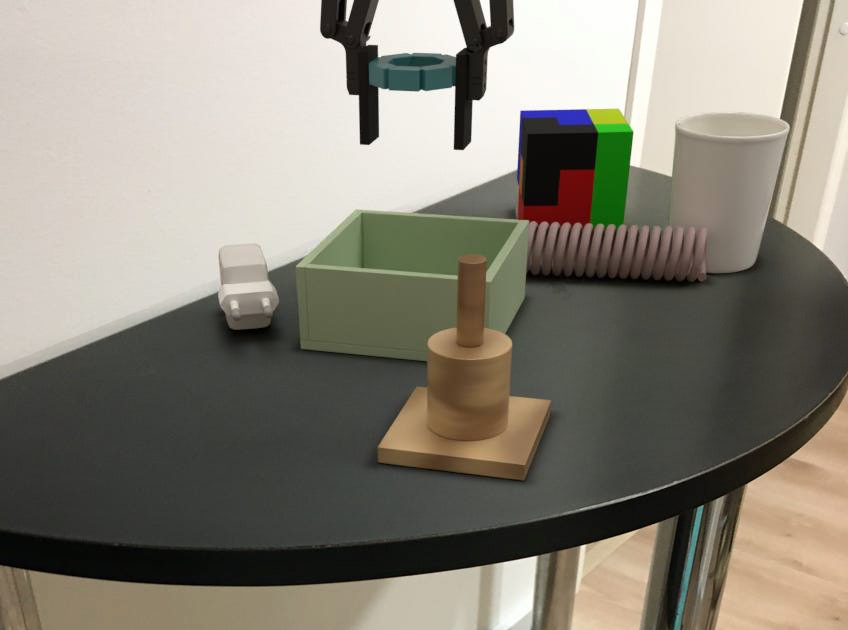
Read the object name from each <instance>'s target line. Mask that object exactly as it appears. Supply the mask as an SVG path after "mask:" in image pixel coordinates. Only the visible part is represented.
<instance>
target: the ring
mask: <svg viewBox="0 0 848 630" xmlns="http://www.w3.org/2000/svg"><path fill="white" fill-rule="evenodd" d="M368 66H369V84H370V85H373V86H376V87H378V89H381V90H388V91H395V92H417V93H418V92H420V91H424V92H429V91H430V92H431V91H437V90H445V89H451V88H453V87H455V74H456V56H455V55H450V54H447V53H445V54H442V53H439V52H438V53H436V52H435V53H434V52H412V53H408V52H402V53H395V54H386V55H381V56H378V57H377V58H375V59H374V60H372V61H370V62H369V63H368Z"/></svg>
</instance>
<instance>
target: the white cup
mask: <svg viewBox="0 0 848 630" xmlns="http://www.w3.org/2000/svg"><path fill="white" fill-rule="evenodd" d="M790 130H791V127H790V124H789V123H788V122H787V121H786V120H784V119H781V118H778V117H775V116H771V115H767V114H762V113H755V112H754V113H753V112H743V111H709V112H708V111H707V112H699V113H693V114H688V115H685V116H681V117H680V118H678V119H677V120H676V121H675V124H674V144H673V157H672V170H671V183H670V196H669V210H668V220H667V221H668V222H667V226H671V227H672V229H673V241H674V235H675V231H676V229H677V227H679V226H680V227H683V228H684V230H685V232H684V245H685V239H686V234H687V230H688V228H690V227H694V228H695V229H696V239H695V249H696V244H697V238H698V233H699V230H700V228H702V227H705V228H707V230H708V233H707V244H706V263H705V268H706V274H731V273H737V272H742V271H745V270H748V269H750V268H752V267H753V266H754V265H755V263H756V261H757V259H758V255H759V252H760V248H761V245H762V240H763V237H764V232H765V229H766V228H765V227H766V223H767V219H768V215H769V211H770V208H771V204H772V199H773V196H774V191H775V187H776V183H777V179H778V174H779V171H780V167H781V163H782V158H783V155H784V150H785V146H786V143H787V138H788V135H789V133H790ZM672 246H673V242H672ZM683 250H684V248H683Z"/></svg>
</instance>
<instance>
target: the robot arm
mask: <svg viewBox="0 0 848 630" xmlns="http://www.w3.org/2000/svg"><path fill="white" fill-rule="evenodd" d="M320 1H321V2H320V19H319V32H320V34H321V37H323V38H324V39H329V40H330V39H331V40H333V41H335V42H338V43H339V44H341V45H342V47H343V48H344V51H345V73H346V75H345V79H346V90H347V93H348V95H349V96H358V113H359V114H358V123H359V145H360V146H370V145H371V144H372V143H373V142H375V141H376V140H378V139H379V137H380V102H379V101H380V98H379V96H380V94H379V93H380V92H379V91H380V90H379V87H376V86H373V85H370V84H369V66H368V63H369V62H370V61H372V60H374V59H375V58H377V57H379V44H367V42H369V40H370V39H371V36H370V32H371V29H372V26H373V22H374V19H375V15H376V12H377V8H378V5H379V2H380V0H353V1H352V5H351V9H350V11H349V15H348V20H347V7H348V0H320ZM488 1H489V21H490V25H488V26H487V22H486V19H485V14H484V11H483V8H482V4H481V0H453V5H454V8H455V11H456V15H457V18H458V21H459V25H460V28H461V32H462V35H463V40H464V42H465V47H463V48H462V49H460V51H458V52H457V53H456V54H455V57H456V74H455V86H454V116H453V117H454V118H453V150H454V151H464V150H465V149H466V148H467V147H468V146H469V145H470V144H471V143H472V131H473V128H472V127H473V103H474V102H473V101H481V100H482V99H483V97H485V93H486V91H487V83H488V82H487V80H488V59H489V58H488V56H489V51H490V49H491V48H492V47H495V46H498V45H501V44H504V43H505V42H507V40H509V39H510V38H511V37H512V36H513V34H514V33H515V16H514V15H515V12H514V11H515V10H514V0H488Z"/></svg>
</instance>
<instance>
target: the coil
mask: <svg viewBox="0 0 848 630" xmlns="http://www.w3.org/2000/svg"><path fill="white" fill-rule="evenodd" d="M662 230H663V231H662ZM662 232H663V233H662ZM684 232H685V230H684V228H683V227H680V226H679V227H677V229H676V231H675V235H674V241H673V229H672V227H671V226H668V225H667V226H665V228H664V229H662V227H661V226H660V225H655V226H653V228H652V230H651V227H650V226H649V225H647V224H645V225H642V226H641V228H640V229H639V226H638V225H637V224H632V225H630V227H629V229H628V226H627V225H626V224H622V225H620V226H619V228H618V230H617V233H616V227H615V225H614V224H610V225H608V227H607V229H606V232H605V227H604V225H603V224H598V225H597V226H596V227H595V230H594V227H593V225H592V224H591V223H588V224H586V225H585V227H584V229H583V227H582V225H581V224H580V223H576V224H574V226H573V228H572V227H571V224H570V223H567V222H566V223H564V224H563V225H562V227H560V224H559V223H558V222H554V223H552V225H551V226H550V227H549V224H548V223H547V222H542V223H541V224H540V225H539V226H538V224H537V223H536V222H535V221H532V222H530V223H529V233H528V250H527V266H526V275H527V273H529V270H530V272H531V274H532V275H533V276H536V275H538V274H539V273H540V269H541V273H542V274H543V276H549V275H550V273H551V269H552V274H553V276H556V277H558V276H560V275H561V274H562V270H563V275H564V276H565V277H571V276H572V274H573V271H574V275H575V277H578V278H580V277H582V276H583V275H584V273H585V276H587V278H593V277H594V275H595V273H596V276H597V277H598V278H599V279H602V278H604V277H605V276H606V275H607V277H608V278H610V279H614V278H616V277H617V276H618V277H619V278H621V279H623V280H624V279H627V277H628V276H629V277H630V278H631V279H632V280H637V279H639V277H640V276H641V278H642V280H645V281H646V280H649V279H650V278H651V277H652V279H653V280H654V281H660V280H661V279H662V278H663V279H664V280H665V281H667V282H669V281H672V280H673V279H675V280H676V281H677V282H683V280H685V279H686V280H687V281H688V282H690V283H692V282H694V281H696V279H697V280H698V281H699V282H705V281H706V280H707V278H708V277H707V273H706V268H705V263H706V244H707V233H708V230H707V228H705V227H702V228H700V230H699V233H698V238H697V244H696V249H695V239H696V229H695V228H694V227H690V228H688V230H687V234H686V239H685V245H684ZM672 242H673V246H672ZM683 248H684V250H683Z"/></svg>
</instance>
